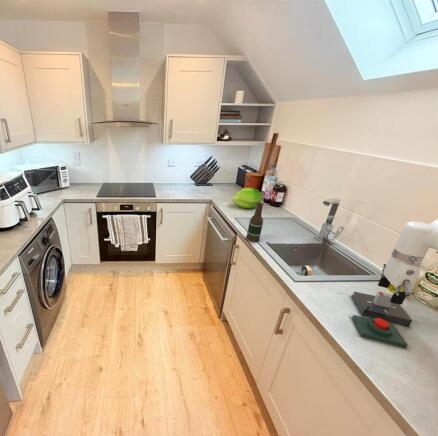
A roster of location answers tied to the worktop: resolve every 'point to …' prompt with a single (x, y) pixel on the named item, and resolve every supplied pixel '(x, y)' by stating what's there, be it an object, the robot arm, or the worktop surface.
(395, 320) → the panel
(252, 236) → the beer bottle
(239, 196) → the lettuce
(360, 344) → the worktop surface
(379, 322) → the power button
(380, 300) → the hob knob
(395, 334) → the green device base
